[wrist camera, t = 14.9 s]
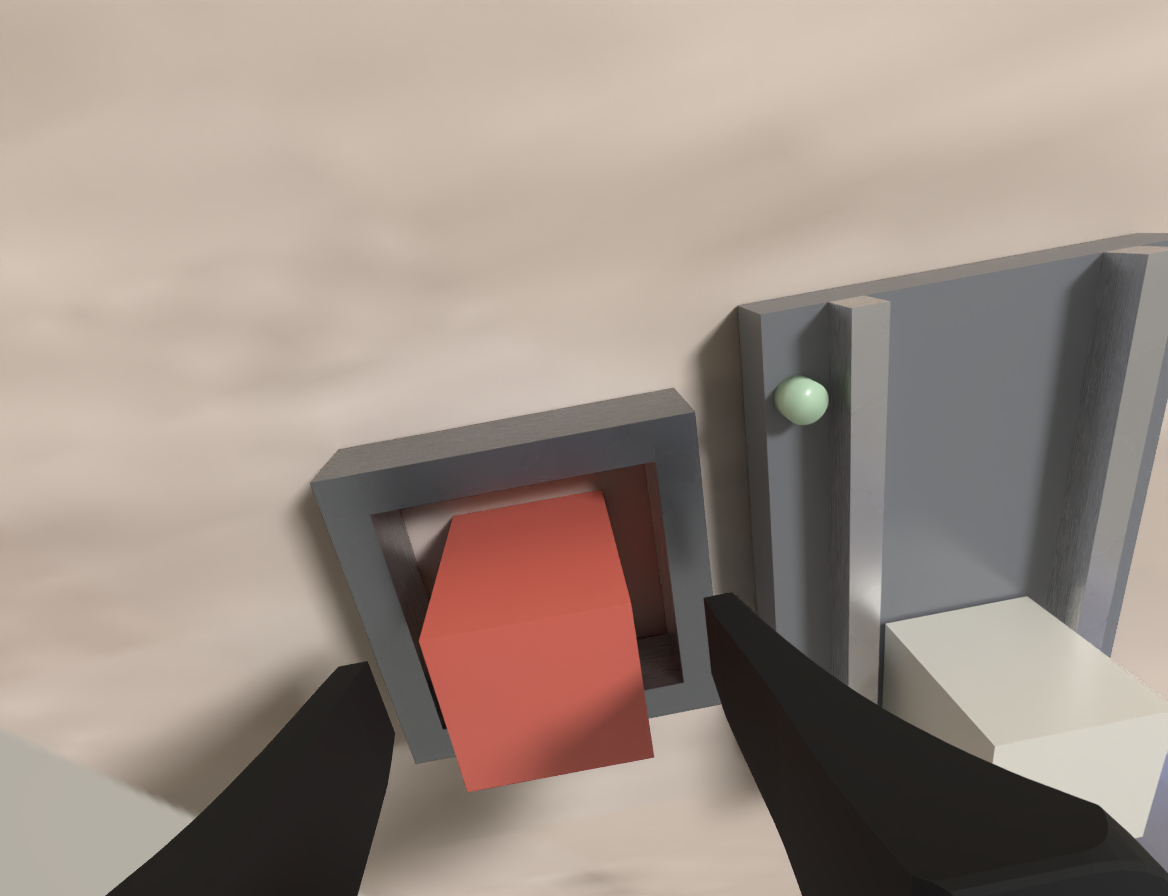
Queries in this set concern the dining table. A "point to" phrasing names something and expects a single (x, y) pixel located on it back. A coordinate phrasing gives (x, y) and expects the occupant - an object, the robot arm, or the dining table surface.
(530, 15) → the dining table surface
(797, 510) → the breaker panel
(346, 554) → the grey square frame
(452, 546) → the red block
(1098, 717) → the block
